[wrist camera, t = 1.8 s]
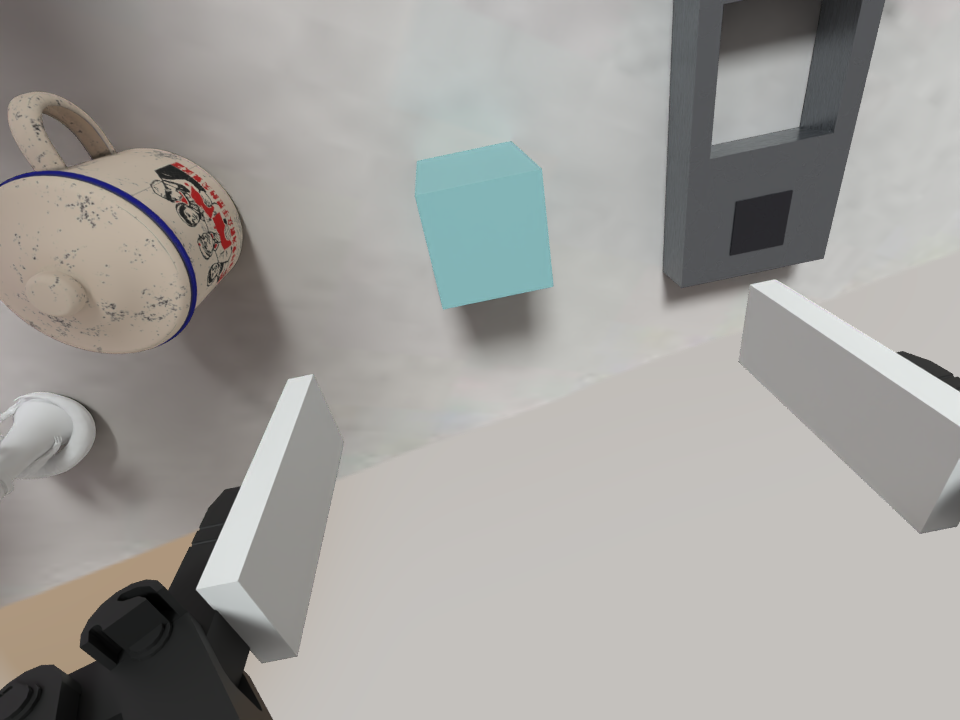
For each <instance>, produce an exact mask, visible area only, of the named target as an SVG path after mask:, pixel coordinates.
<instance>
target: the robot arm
mask: <svg viewBox="0 0 960 720" xmlns="http://www.w3.org/2000/svg"><path fill="white" fill-rule="evenodd" d="M739 363H740V364H741V365H742V366H743V367H744V368H746V369H747V370H748V371H749V372H750V373H751V374H752V375H753V376H754V377H755V378H756V379H757V380H758V381H759V382H760V383H761V384H762V385H763V386H765V387H766V388H767V389H768V390H769V391H770V392H771V393H772V394H773V395H774V396H775V397H776V398H777V399H778V400H779V401H780V402H781V403H782V404H783V405H785V406H786V407H787V408H788V409H789V410H790V411H791V412H792V413H793V414H794V415H795V416H796V417H797V418H798V419H799V420H800V421H801V422H803V423H804V424H805V425H806V426H807V427H808V428H809V429H810V430H811V431H812V432H813V433H814V434H815V435H816V436H817V437H818V438H819V439H820V440H822V442H824V443H825V444H826V445H827V446H828V447H829V448H830V449H831V450H832V451H833V452H834V453H835V454H836V455H837V456H838V457H840V459H841V460H843V461H844V462H845V463H846V464H847V465H848V466H849V467H850V468H851V469H852V470H853V471H854V472H855V473H856V474H857V475H858V476H860V477H861V479H863V480H864V481H865V482H866V483H867V484H868V485H869V486H870V487H871V488H872V489H873V490H874V491H875V492H876V493H877V494H878V495H879V496H881V497H882V498H883V499H884V500H885V501H886V502H887V503H888V504H889V505H890V506H891V507H892V508H893V509H894V510H895V511H896V512H897V513H898V514H900V516H902V517H903V518H904V519H905V520H906V521H907V522H908V523H909V524H910V525H911V526H912V527H913V528H914V529H915V530H917V532H918V533H920V534H922V533H926V532H931V531H937V530H941V529H947V528H952V527H957V525H958V524H959V522H960V378H959V377H954V376H953V374H952V373H950V372H949V371H947V370H945V369H944V368H942V367H940V366H938V365H937V364H935V363H933V362H931V361H929V360H927V359H923V358H921V357H918V356H915V355H912V354H909V353H906V352H903V351H902V352H897V353H896V352H894V351H892V350H891V349H889V348H887V347H886V346H884V345H882V344H881V343H879V342H878V341H876V340H874V339H873V338H871V337H869V336H868V335H866V334H864V333H863V332H861V331H860V330H858V329H856V328H855V327H853V326H851V325H850V324H848V323H846V322H845V321H843V320H842V319H840V318H838V317H836V316H835V315H833V314H832V313H830V312H828V311H827V310H825V309H823V308H822V307H820V306H819V305H817V304H815V303H814V302H812V301H810V300H809V299H807V298H806V297H804V296H802V295H801V294H799V293H797V292H796V291H794V290H792V289H791V288H789V287H788V286H786V285H784V284H783V283H781V282H779V281H778V280H776V279H774V280H770V281H765V282H760V283H755V284H750V287H749V294H748V301H747V308H746V315H745V321H744V328H743V335H742V342H741V349H740V356H739ZM343 445H344V441H343V438H342V436H341V434H340V432H339V429H338V427H337V425H336V423H335V421H334V418H333V416H332V414H331V412H330V410H329V407H328V405H327V403H326V401H325V399H324V396H323V394H322V392H321V390H320V388H319V385H318V383H317V381H316V379H315V377H314V374H311V375H306V376H301V377H296V378H291V379H288V381H287V383H286V385H285V388H284V390H283V392H282V394H281V397H280V399H279V401H278V403H277V406H276V408H275V410H274V413H273V415H272V417H271V419H270V422H269V424H268V426H267V429H266V431H265V433H264V435H263V438H262V440H261V442H260V444H259V447H258V449H257V451H256V454H255V456H254V458H253V460H252V463H251V465H250V467H249V469H248V472H247V474H246V476H245V479H244V481H243V483H242V485H241V486H240V487H235V488H230V489H225V490H224V491H223V492H222V494H221V495H220V496H219V497H218V498H217V499H216V500H215V501H214V503H213V504H212V505H211V506H210V507H209V508H208V510H207V512H206V514H205V517H204V519H203V521H202V523H201V525H200V527H199V528H200V530H199V531H197V533H196V535H195V537H194V539H193V541H192V547H189V549H188V551H187V553H186V555H185V557H184V559H183V561H182V563H181V565H180V568H179V569H178V572H177V574H176V576H175V578H174V580H173V582H172V584H171V586H170V588H169V590H167V589H166V588H165V587H164V586H163V585H162V584H161V583H160V582H158V581H157V580H143V581H140V582H136V583H133V584H130V585H129V586H127V587H125V588H123V589H122V590H120V591H118V592H116V593H115V594H114V595H113V596H111V597H110V598H109V599H108V600H107V601H105V602H104V603H103V604H102V605H101V606H100V607H99V608H98V609H97V610H96V612H95V613H94V614H93V615H92V617H90V619H89V620H88V622H87V624H86V626H85V628H84V630H83V632H82V634H81V639H80V648H81V649H82V650H84V651H85V652H86V653H87V654H89V655H90V656H91V657H93V658H94V659H95V660H96V661H95V662H93V663H91V664H89V665H87V666H85V667H83V668H81V669H79V670H77V671H75V672H73V673H70V674H68V675H67V674H66V673H64V672H63V671H62V670H60V669H59V668H57V667H56V666H54V665H41V666H38V667H36V668H33V669H31V670H29V671H26V672H24V673H23V674H21V675H20V676H18V677H17V678H15V679H14V680H12V681H11V682H9V683H8V684H7V685H6V686H5V687H3V689H1V690H0V720H273V719H272V717H271V715H270V713H269V712H268V710H267V708H266V706H265V704H264V702H263V700H262V698H261V697H260V695H259V693H258V691H257V689H256V687H255V686H254V684H253V682H252V680H251V678H250V676H248V674H247V673H246V672H245V671H244V667H245V664H246V660H247V657H248V654H249V651H251V652H252V653H253V654H254V655H255V656H256V658H257V659H258V660H259V661H260V662H261V663H266V662H271V661H277V660H282V659H287V658H291V657H297V656H298V651H299V646H300V642H301V638H302V633H303V628H304V624H305V619H306V615H307V610H308V605H309V600H310V596H311V592H312V587H313V582H314V578H315V573H316V568H317V564H318V559H319V555H320V550H321V546H322V541H323V537H324V531H325V527H326V522H327V518H328V513H329V508H330V504H331V499H332V495H333V491H334V486H335V481H336V477H337V472H338V468H339V463H340V459H341V454H342V449H343Z"/></svg>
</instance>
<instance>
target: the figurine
mask: <svg viewBox="0 0 960 720" xmlns="http://www.w3.org/2000/svg"><path fill="white" fill-rule="evenodd" d="M18 399H20V400H19V401H18V402H17V403H16V404H15V405H13V406H12V407H10V408H9V409H8V410H7V411H5V412H4V413H2V414H0V422H2V421H4V420H5V419H6V418H7V417H9V416H11V415H13V421H14V424H13V426H12V427H11V429H10V430H9V432H8V433H7V435H6V436H5V437H4V436H3V435H1V434H0V501H1V500H2V499H3V498H4V496H6V495H7V494H9V493H11V492H12V491H13V489H14V483H13V481H12V480H14V479H38V478H45V477H50V476H55V475H58V474H60V473H64V472H66V471H68V470H70V469H71V468H73V467H74V466H75V465H76V464H78V463H79V462H80V461H81V460H82V459H83V458H84V457H85V456H86V455H87V453H88V452H89V451H90V449H91V447H92V445H93V443H94V440H95V436H96V427H95V422H94V420H93V417H92V416H91V414H90V413H89V411H88V410H87V409H86V408H85V407H84V406H82V405H81V404H80V403H78V402H77V401H75V400H73V399H70V398H68V397H65V396H61V395H57V394H53V393H47V392H35V393H30V394H27V395H23V396H20V397H18V398H16V399H15V400H14V401H16V400H18ZM14 401H13V402H14ZM65 444H67V445H66V446H65V447H64V448H63V449H62V450H61V451H60V452H58V453H56V452H57V451H58V450H59V448H60V446H61V445H65ZM55 453H56V454H55Z"/></svg>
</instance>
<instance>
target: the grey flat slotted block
mask: <svg viewBox="0 0 960 720" xmlns="http://www.w3.org/2000/svg"><path fill="white" fill-rule="evenodd" d="M737 1H741V0H674V6H673V31H672V56H671V81H670V106H669V131H668V156H667V181H666V206H665V231H664V256H663V272H664V273H665V274H666V275H667V276H668V277H669V278H671V279H672V280H673V281H674V282H675V283H676V284H677V285H679V286H680V287H681V288H684V287H688V286H693V285H698V284H703V283H708V282H713V281H717V280H722V279H727V278H732V277H737V276H742V275H746V274H751V273H756V272H761V271H766V270H770V269H775V268H780V267H785V266H790V265H795V264H799V263H804V262H809V261H814V260H819V259H824V255H825V250H826V246H827V242H828V238H829V234H830V229H831V225H832V221H833V217H834V213H835V208H836V204H837V200H838V196H839V192H840V187H841V183H842V179H843V175H844V171H845V166H846V162H847V158H848V154H849V150H850V145H851V141H852V137H853V133H854V129H855V124H856V120H857V116H858V112H859V108H860V103H861V99H862V95H863V91H864V87H865V82H866V78H867V74H868V70H869V66H870V61H871V57H872V53H873V49H874V45H875V40H876V36H877V32H878V28H879V24H880V19H881V15H882V11H883V7H884V3H885V0H823V1H822V7H821V12H820V18H819V23H818V29H817V35H816V40H815V46H814V51H813V57H812V62H811V68H810V74H809V79H808V85H807V90H806V96H805V101H804V107H803V113H802V118H801V124H800V127H798V128H793V129H788V130H783V131H779V132H774V133H769V134H764V135H760V136H755V137H750V138H745V139H741V140H736V141H731V142H726V143H722V144H717V145H712V146H711V142H712V130H713V119H714V107H715V96H716V84H717V73H718V61H719V50H720V38H721V27H722V15H723V4H727V3H732V2H737Z"/></svg>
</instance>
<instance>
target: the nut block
mask: <svg viewBox="0 0 960 720" xmlns="http://www.w3.org/2000/svg"><path fill="white" fill-rule="evenodd" d="M415 198H416V202H417V206H418V210H419V214H420V218H421V222H422V227H423V231H424V235H425V239H426V243H427V247H428V251H429V255H430V259H431V263H432V267H433V271H434V275H435V279H436V283H437V287H438V291H439V295H440V299H441V303H442V307H443V309H448V308H453V307H457V306H462V305H467V304H472V303H477V302H482V301H486V300H491V299H496V298H501V297H506V296H510V295H515V294H520V293H525V292H530V291H535V290H539V289H544V288H549V287H553V277H552V267H551V257H550V247H549V237H548V227H547V217H546V206H545V196H544V186H543V176H542V169H541V168H540V167H539V166H538V165H537V164H536V163H535V162H534V161H532V160H531V159H530V158H529V157H528V156H527V155H526V154H525V153H524V152H523V151H521V150H520V149H519V148H518V147H517V146H516V145H515V144H514V143H513V142H512V141H510V142H505V143H500V144H495V145H491V146H486V147H481V148H477V149H472V150H467V151H462V152H458V153H453V154H448V155H443V156H439V157H434V158H429V159H424V160H420V161H417V170H416V186H415Z"/></svg>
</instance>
